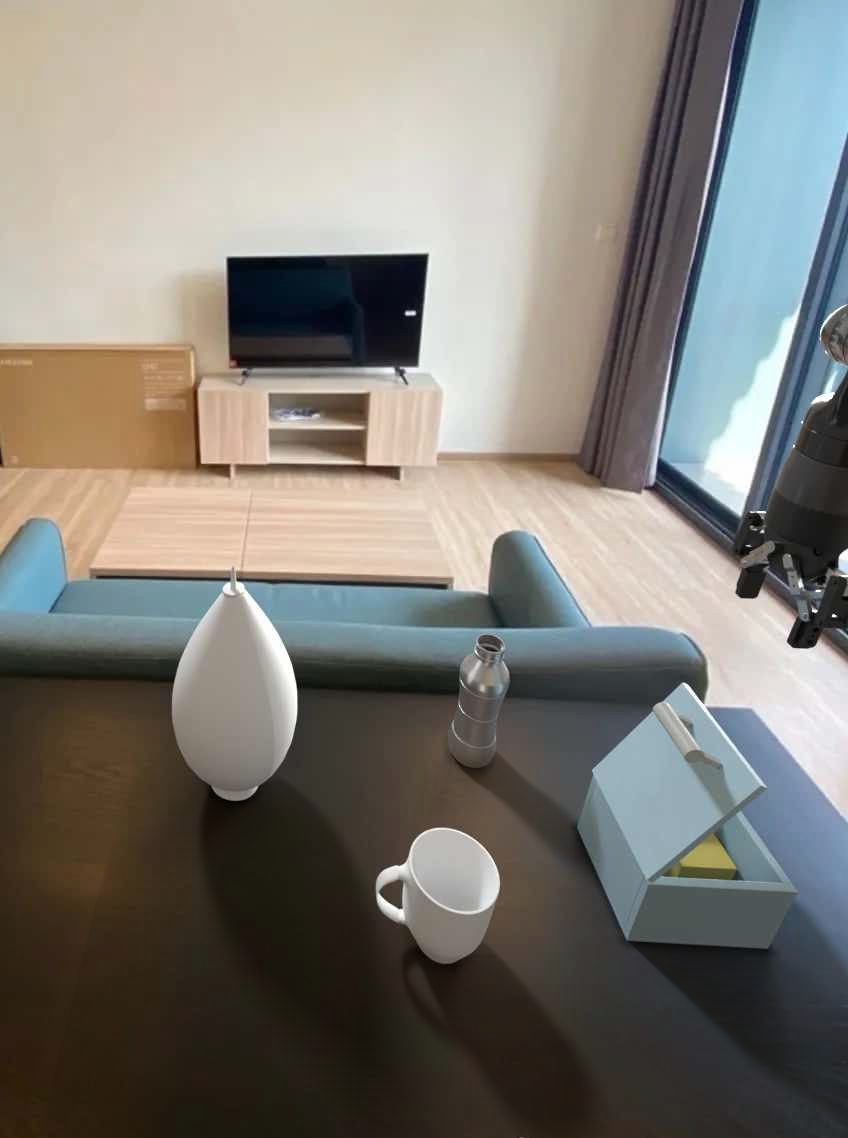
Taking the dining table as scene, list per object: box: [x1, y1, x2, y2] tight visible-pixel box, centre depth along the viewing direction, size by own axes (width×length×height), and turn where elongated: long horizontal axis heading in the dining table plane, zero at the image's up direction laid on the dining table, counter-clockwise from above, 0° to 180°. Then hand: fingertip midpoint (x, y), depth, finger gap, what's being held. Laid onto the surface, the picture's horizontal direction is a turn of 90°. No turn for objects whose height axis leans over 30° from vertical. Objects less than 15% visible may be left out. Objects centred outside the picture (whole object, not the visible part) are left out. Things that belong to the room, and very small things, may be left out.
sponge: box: [663, 833, 737, 880], centre depth 75 cm, size 6×4×4 cm
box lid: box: [591, 682, 768, 882], centre depth 68 cm, size 16×13×5 cm
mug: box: [375, 827, 501, 965], centre depth 68 cm, size 12×9×12 cm
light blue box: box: [577, 774, 799, 950], centre depth 73 cm, size 15×13×10 cm
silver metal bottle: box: [447, 633, 511, 769], centre depth 88 cm, size 6×7×20 cm
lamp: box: [171, 564, 298, 802], centre depth 81 cm, size 16×16×35 cm
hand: (770, 620), depth 73 cm, fingers open, 8 cm apart
